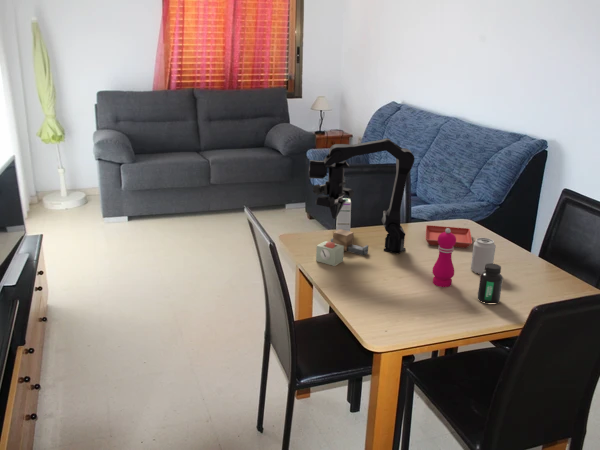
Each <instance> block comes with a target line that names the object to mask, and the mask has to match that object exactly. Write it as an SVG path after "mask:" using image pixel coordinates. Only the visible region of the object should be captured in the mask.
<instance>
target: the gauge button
mask: <svg viewBox="0 0 600 450" xmlns="http://www.w3.org/2000/svg"><path fill="white" fill-rule="evenodd" d="M326 247H328V248H334V247H335V243H333V242H331V241H327V243H326Z"/></svg>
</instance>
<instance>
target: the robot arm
mask: <svg viewBox="0 0 600 450" xmlns="http://www.w3.org/2000/svg"><path fill="white" fill-rule="evenodd" d="M384 151H385V152H388V153H389V154H390V155H391V156H393V157H394V158H395V159H396V160H395V167H396V173H395V177H394V183H393V189H392V193H391V198H390V201H389V202H390V203H389V206H388V207H389V208H388V209H387V210H383V212H382V213H383V215H382V218H381V222H382V224H383V227H384V230H385V232H386V233H387V234H386V237H385V238H384V248H383V251H385V252H388V253H393V254H395V255H396V254H397V255H399V254H401V253H402V252H404V251H406V248H405V238H406V231H405V230H404V229H403V227H402V225H401V207H402V202H403V199H404V198H403V197H404V193H405V189H406V184H407V178H408V175H409V173H411V170H412V167H413V165H414V163H415V159H416V158H415V155H414V154H413V153H412V151H411V150H410V149H409V148H402V146H400V145H399V144H397V143H395V142H393V140H391V139H390V138H383V139H379V140H373V141H367V142H361V143H356V144H347V143H335V144H332V145H331V146H330V148H329V150H328V154H326V156H325V157H324V159H323V160H314V159H309V166H308V179H314V180H315V179H317V180H318V179H320V180H323V179H324V178H326V177H327V176H328V179H327V181H325V183H324V184H315V185H313V186H312V187H313V188H312V193H313V194H315V196H318V195H320V196H318V197H316V198H315V205H317V206H319V207H320V206H322V207H325V208H329V211H330V214H331V217H332V219H334V220H335V219H336V218H337V216H338V214H339V212H340V210H341V208H342V207H343V205H344V203H345V202H346V200H343V198H344V197H345V196H347V197H348V198H349V199H351V198H353V197H354V196H355V192H354V189H353V188H349V187H344V186H345V185H346V182H347V181H345V180H344V175H345V169H349V168H350V164H349V163H348V162H347V160H349V159H352V158H354V157H357V156H363V155H368V154H373V153H379V152H384ZM322 194H323V195H322Z"/></svg>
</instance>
